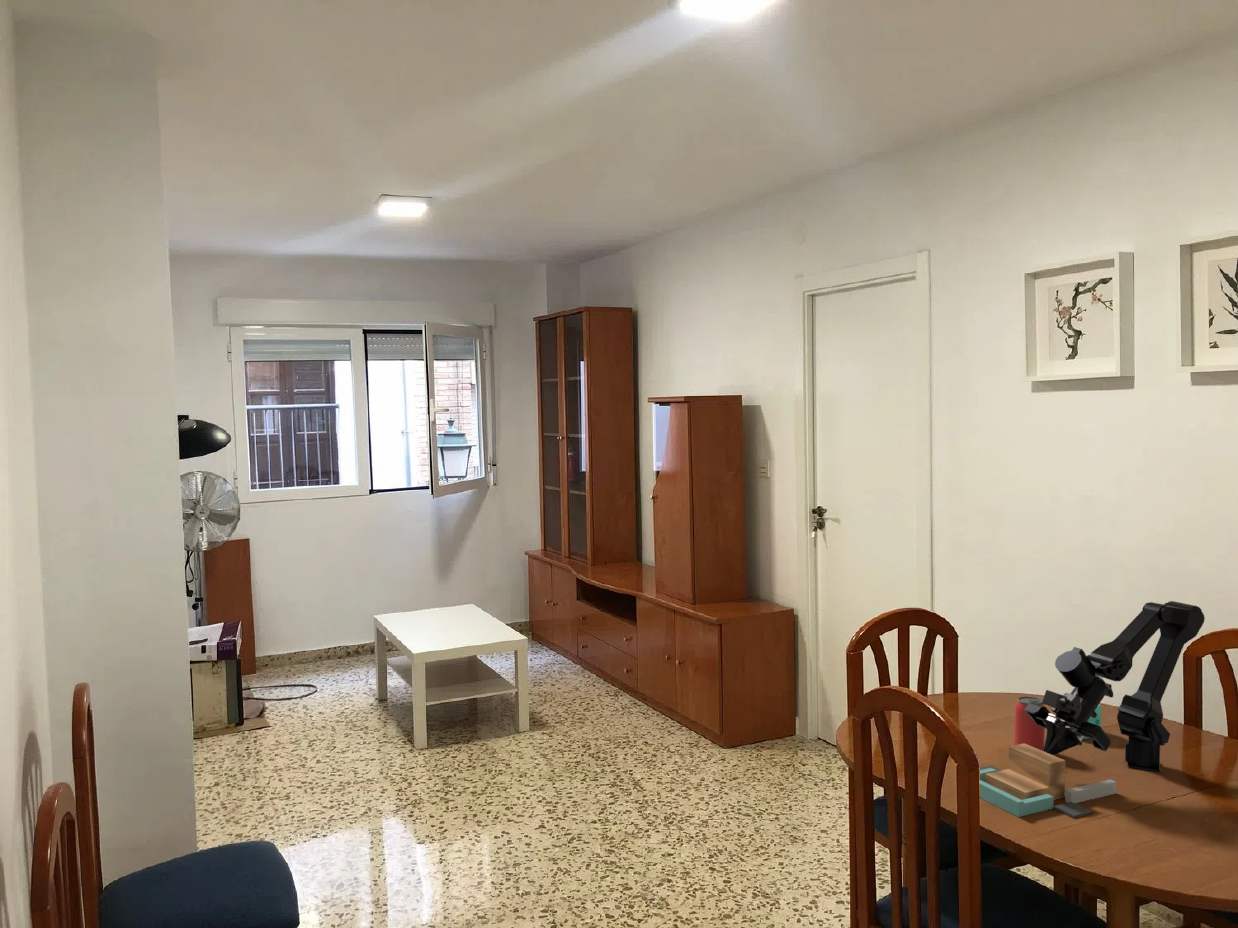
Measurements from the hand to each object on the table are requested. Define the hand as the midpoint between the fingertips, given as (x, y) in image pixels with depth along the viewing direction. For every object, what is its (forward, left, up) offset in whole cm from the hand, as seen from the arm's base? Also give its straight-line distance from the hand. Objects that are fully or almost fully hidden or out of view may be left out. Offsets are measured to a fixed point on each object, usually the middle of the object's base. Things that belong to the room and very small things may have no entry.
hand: (1045, 756), depth 208 cm
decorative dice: (-6, -40, -7) cm, 41 cm away
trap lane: (+2, +2, -7) cm, 7 cm away
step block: (+4, +4, -7) cm, 9 cm away
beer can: (+5, -23, -7) cm, 25 cm away
